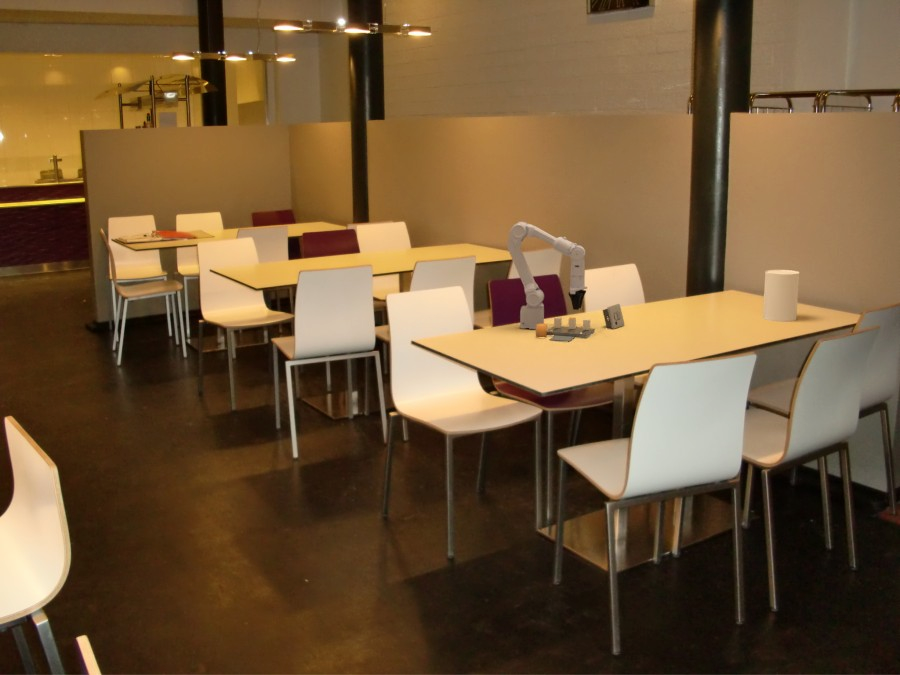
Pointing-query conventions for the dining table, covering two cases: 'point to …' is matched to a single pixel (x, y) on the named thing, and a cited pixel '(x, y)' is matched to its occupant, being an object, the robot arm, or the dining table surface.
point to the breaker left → (557, 322)
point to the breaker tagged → (571, 323)
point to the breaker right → (586, 324)
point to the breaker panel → (570, 332)
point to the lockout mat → (562, 338)
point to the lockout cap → (541, 330)
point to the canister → (780, 295)
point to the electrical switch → (613, 316)
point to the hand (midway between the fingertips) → (577, 308)
